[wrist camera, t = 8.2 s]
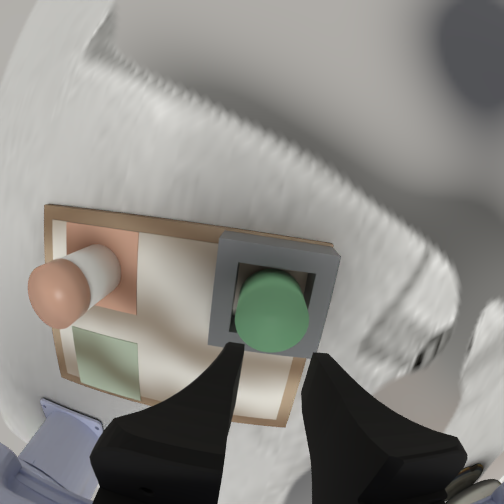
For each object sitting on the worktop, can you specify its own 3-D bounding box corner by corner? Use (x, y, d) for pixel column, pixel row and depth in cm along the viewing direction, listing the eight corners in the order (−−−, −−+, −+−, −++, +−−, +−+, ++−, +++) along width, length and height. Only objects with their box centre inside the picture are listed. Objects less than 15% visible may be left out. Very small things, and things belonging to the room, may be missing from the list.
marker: (122, 297, 20) (80, 335, 14) (80, 289, 20) (32, 321, 14) (121, 246, 19) (73, 270, 13) (78, 241, 19) (24, 261, 14)
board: (284, 422, 24) (285, 429, 23) (64, 374, 23) (60, 378, 23) (331, 243, 20) (334, 246, 19) (48, 204, 20) (42, 205, 19)
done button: (295, 330, 19) (300, 356, 16) (235, 322, 19) (230, 347, 16) (308, 273, 18) (316, 292, 15) (243, 264, 18) (240, 281, 15)
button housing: (309, 340, 21) (314, 358, 18) (213, 327, 21) (207, 344, 18) (331, 246, 19) (340, 256, 17) (224, 230, 19) (219, 237, 17)
